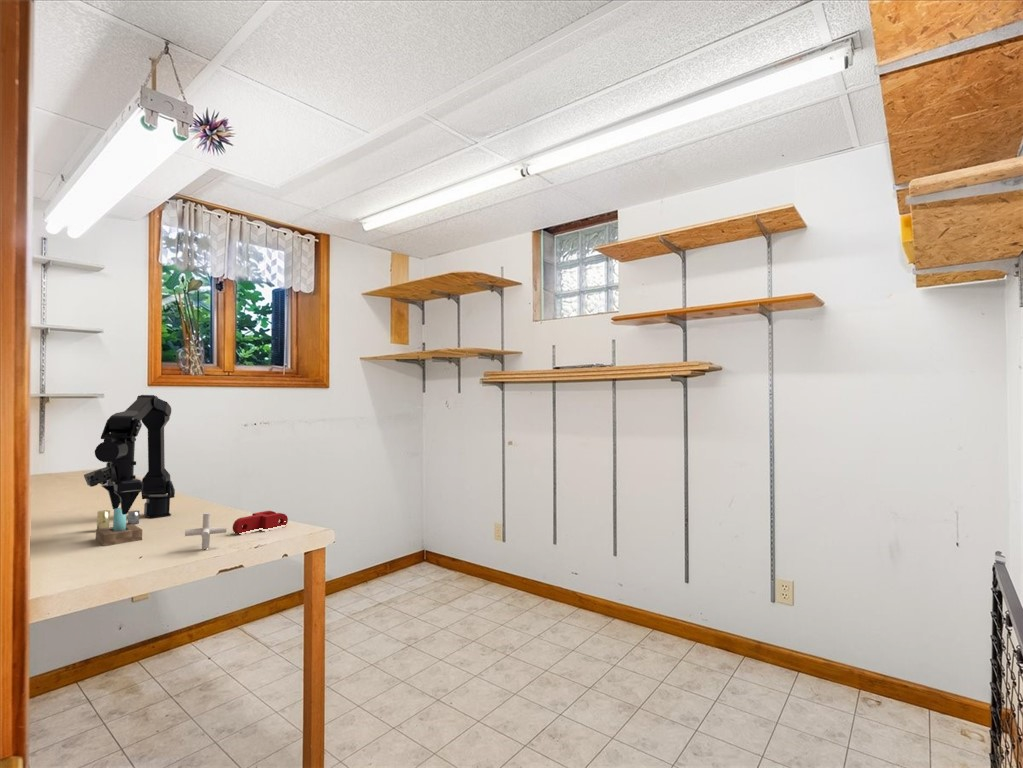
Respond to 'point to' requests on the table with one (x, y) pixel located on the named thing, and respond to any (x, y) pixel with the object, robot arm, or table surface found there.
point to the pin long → (119, 520)
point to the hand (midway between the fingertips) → (119, 511)
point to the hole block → (118, 535)
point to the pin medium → (103, 519)
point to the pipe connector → (205, 530)
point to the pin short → (133, 517)
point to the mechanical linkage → (259, 521)
